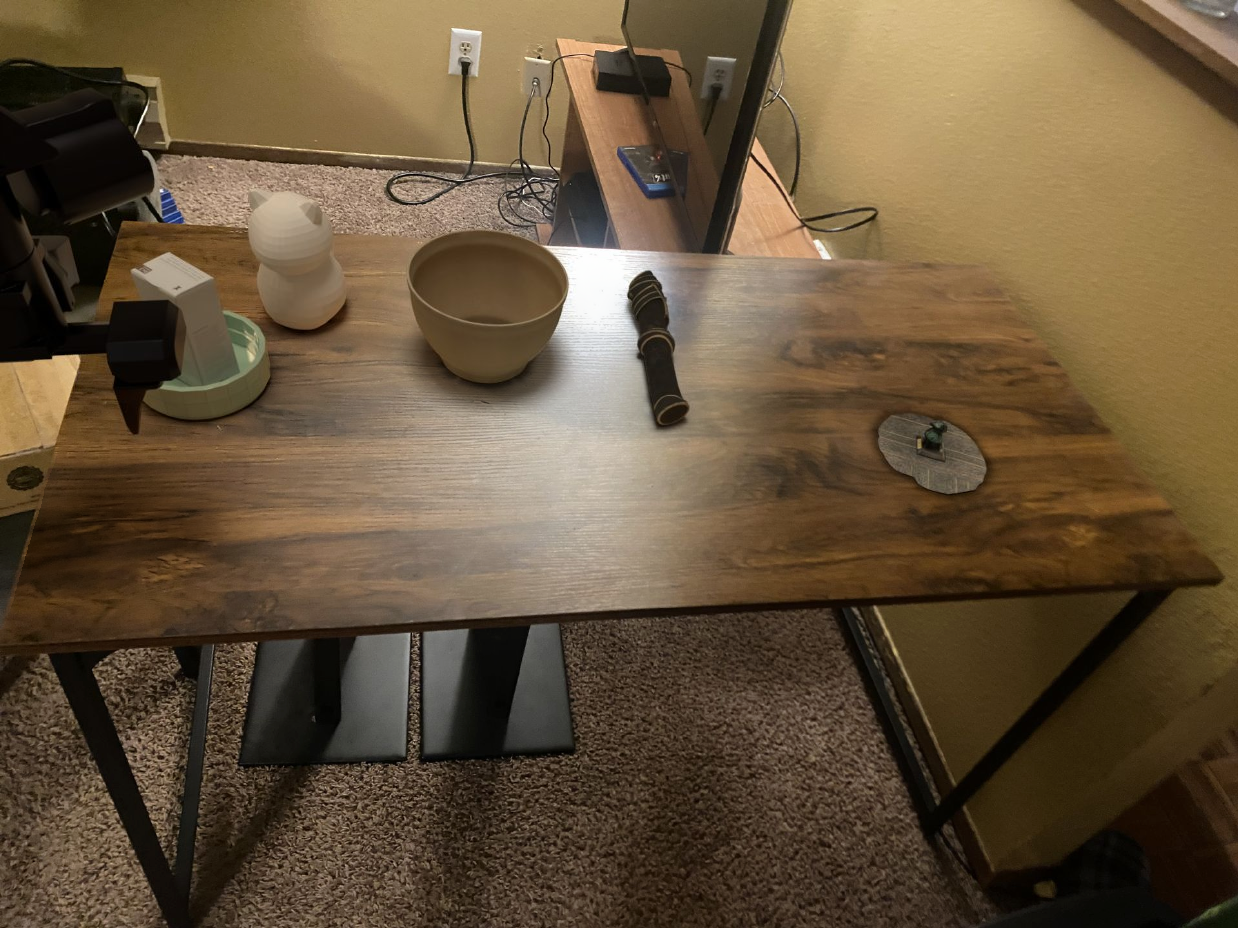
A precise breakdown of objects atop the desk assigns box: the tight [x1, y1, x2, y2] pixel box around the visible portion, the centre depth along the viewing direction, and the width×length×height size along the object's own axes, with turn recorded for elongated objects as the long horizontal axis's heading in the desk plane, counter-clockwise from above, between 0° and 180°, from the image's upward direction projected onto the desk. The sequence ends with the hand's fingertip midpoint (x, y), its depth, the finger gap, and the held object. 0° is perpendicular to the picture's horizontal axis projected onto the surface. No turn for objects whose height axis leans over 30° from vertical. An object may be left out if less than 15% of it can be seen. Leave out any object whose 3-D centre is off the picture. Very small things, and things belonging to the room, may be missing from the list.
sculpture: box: [877, 412, 987, 495], centre depth 92 cm, size 12×9×8 cm
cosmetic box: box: [130, 251, 240, 387], centre depth 78 cm, size 6×4×12 cm
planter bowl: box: [405, 228, 570, 384], centre depth 88 cm, size 16×16×11 cm
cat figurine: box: [247, 187, 348, 331], centre depth 87 cm, size 9×12×15 cm
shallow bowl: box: [143, 309, 271, 421], centre depth 82 cm, size 12×12×4 cm
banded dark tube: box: [626, 269, 691, 426], centre depth 95 cm, size 4×5×25 cm
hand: (66, 435), depth 61 cm, fingers open, 9 cm apart
